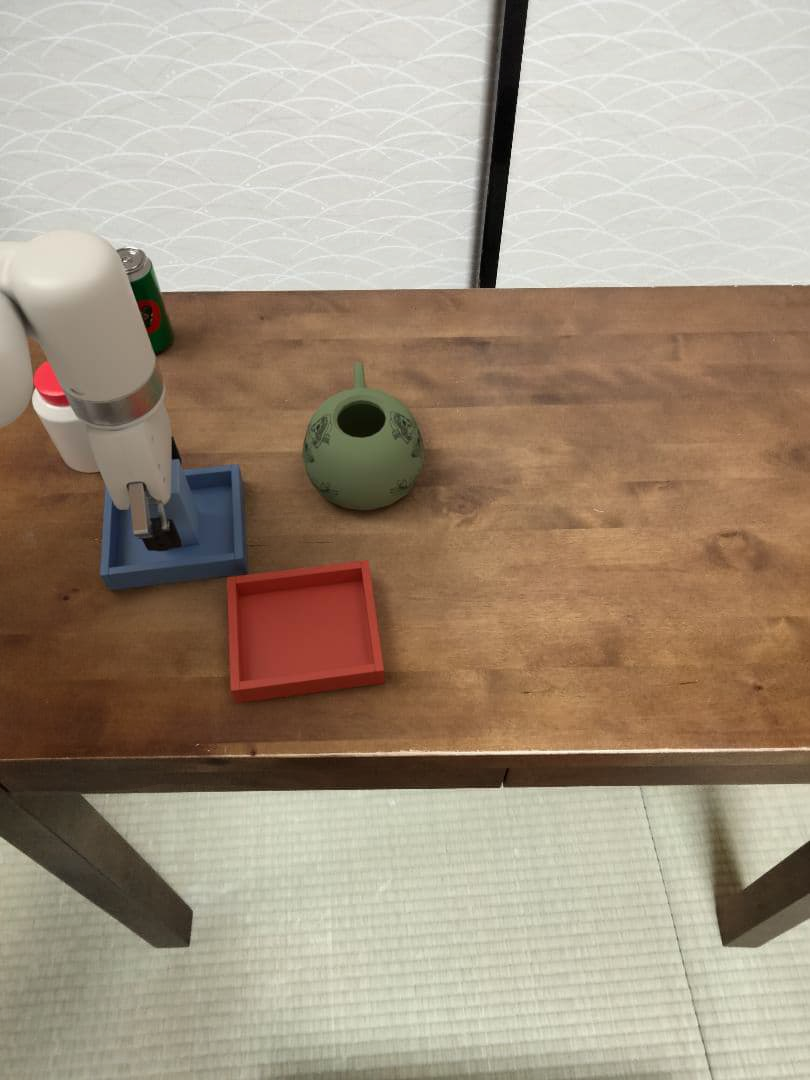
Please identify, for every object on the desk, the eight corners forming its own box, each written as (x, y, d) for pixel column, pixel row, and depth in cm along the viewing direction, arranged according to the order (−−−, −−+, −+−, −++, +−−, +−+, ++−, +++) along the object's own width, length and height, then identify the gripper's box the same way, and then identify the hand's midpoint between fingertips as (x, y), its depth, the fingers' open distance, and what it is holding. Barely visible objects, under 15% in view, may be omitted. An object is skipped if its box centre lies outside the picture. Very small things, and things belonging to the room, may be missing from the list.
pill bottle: (56, 429, 91) (17, 358, 82) (125, 410, 93) (94, 338, 83) (66, 481, 87) (26, 413, 78) (138, 461, 89) (107, 392, 79)
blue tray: (109, 590, 80) (99, 575, 78) (114, 495, 86) (105, 478, 84) (247, 573, 81) (242, 558, 79) (243, 480, 87) (238, 463, 85)
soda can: (184, 336, 99) (159, 254, 89) (156, 362, 97) (127, 281, 86) (152, 320, 100) (124, 238, 90) (124, 345, 98) (92, 264, 88)
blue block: (159, 549, 82) (134, 497, 75) (160, 516, 84) (136, 463, 77) (199, 544, 83) (178, 492, 75) (199, 512, 85) (178, 458, 77)
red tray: (236, 703, 74) (230, 691, 72) (232, 592, 80) (226, 577, 78) (384, 683, 75) (384, 670, 73) (369, 575, 81) (368, 559, 79)
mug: (429, 515, 85) (431, 464, 78) (305, 522, 85) (295, 471, 77) (417, 399, 94) (418, 344, 86) (304, 405, 93) (296, 350, 86)
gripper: (73, 312, 69) (129, 440, 84) (56, 474, 60) (123, 586, 75) (162, 303, 70) (203, 432, 84) (159, 462, 61) (206, 576, 75)
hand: (165, 504), depth 79 cm, fingers open, 9 cm apart
